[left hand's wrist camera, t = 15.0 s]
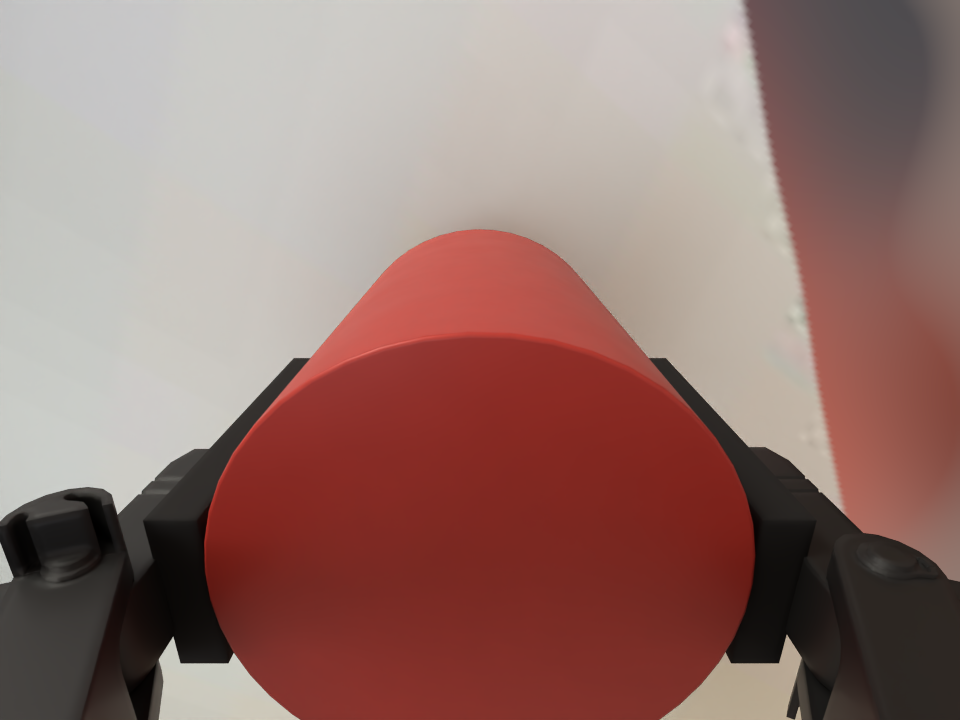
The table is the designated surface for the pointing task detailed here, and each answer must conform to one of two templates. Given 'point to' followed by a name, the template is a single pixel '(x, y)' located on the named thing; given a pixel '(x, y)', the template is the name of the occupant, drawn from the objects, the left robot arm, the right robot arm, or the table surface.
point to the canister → (479, 509)
